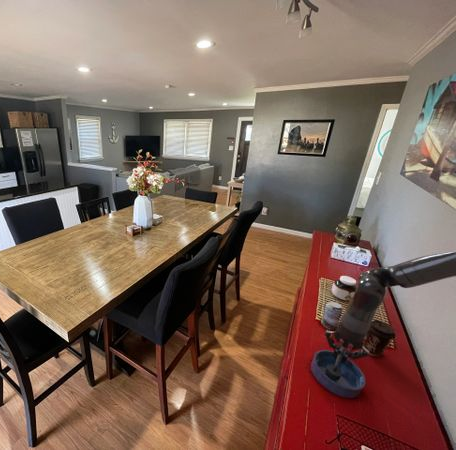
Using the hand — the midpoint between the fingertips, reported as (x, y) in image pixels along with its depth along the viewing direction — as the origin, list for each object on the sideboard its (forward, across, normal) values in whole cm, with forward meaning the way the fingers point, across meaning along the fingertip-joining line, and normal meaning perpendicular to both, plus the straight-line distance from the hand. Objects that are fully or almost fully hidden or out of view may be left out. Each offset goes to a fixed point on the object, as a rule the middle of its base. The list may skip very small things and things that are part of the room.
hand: (338, 359), depth 89 cm
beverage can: (+6, -7, +24) cm, 26 cm away
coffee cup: (+6, +9, +22) cm, 25 cm away
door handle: (+3, 0, 0) cm, 3 cm away
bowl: (+5, +1, -4) cm, 6 cm away
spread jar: (+6, -8, +56) cm, 57 cm away
